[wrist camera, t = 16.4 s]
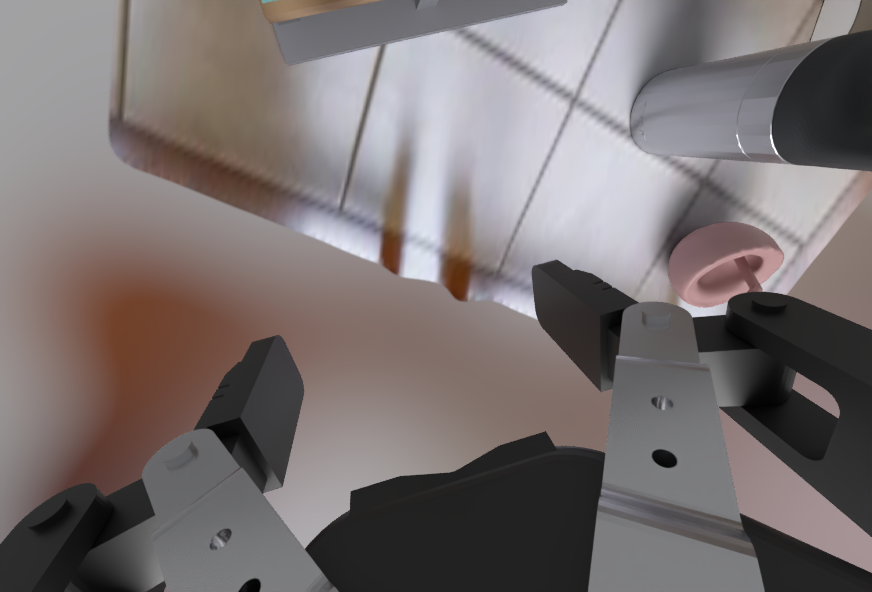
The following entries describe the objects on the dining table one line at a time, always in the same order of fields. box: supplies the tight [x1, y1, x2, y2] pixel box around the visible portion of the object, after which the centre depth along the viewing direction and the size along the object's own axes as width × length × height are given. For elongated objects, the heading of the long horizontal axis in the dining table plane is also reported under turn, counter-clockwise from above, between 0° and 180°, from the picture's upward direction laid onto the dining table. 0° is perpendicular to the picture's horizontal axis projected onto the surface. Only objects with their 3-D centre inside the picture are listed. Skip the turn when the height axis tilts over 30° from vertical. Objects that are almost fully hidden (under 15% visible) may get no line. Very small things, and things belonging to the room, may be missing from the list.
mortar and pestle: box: [668, 222, 784, 308], centre depth 49 cm, size 12×12×11 cm
